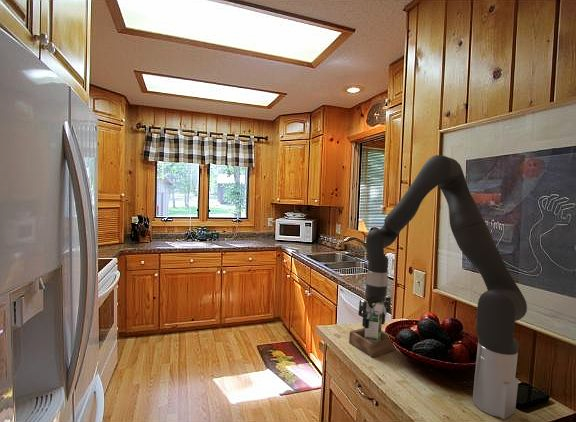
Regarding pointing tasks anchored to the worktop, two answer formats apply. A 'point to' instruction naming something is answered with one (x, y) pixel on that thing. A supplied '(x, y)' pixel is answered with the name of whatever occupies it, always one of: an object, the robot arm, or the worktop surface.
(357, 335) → the brown square open box
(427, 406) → the worktop surface
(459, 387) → the worktop surface
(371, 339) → the syrup box
